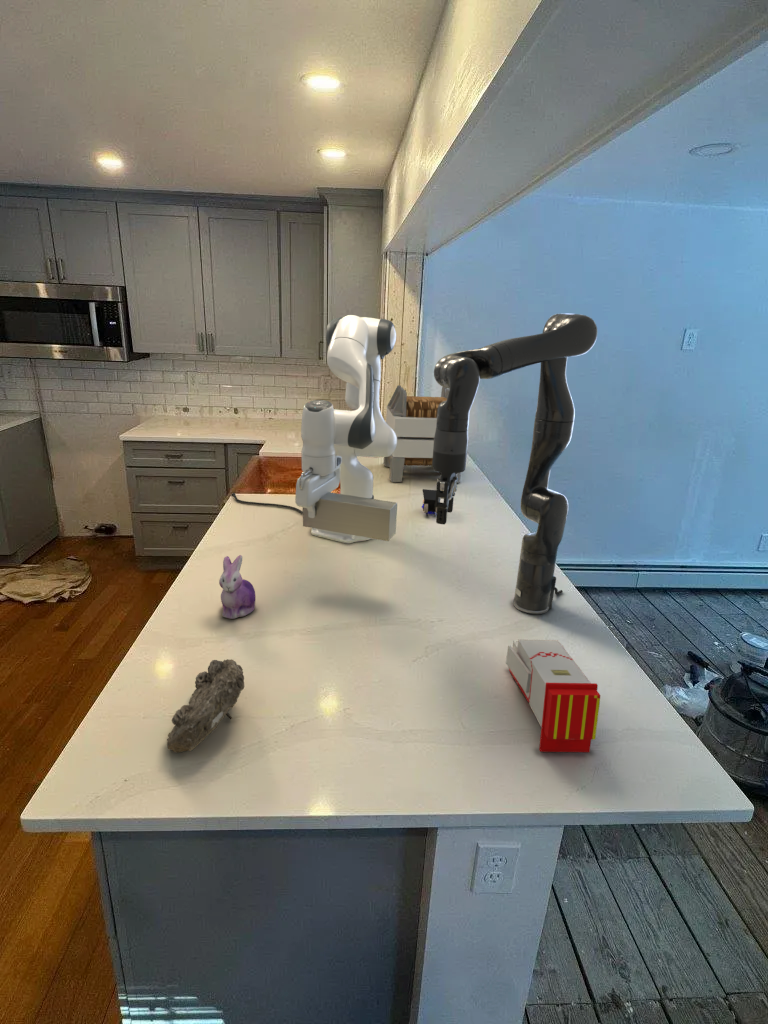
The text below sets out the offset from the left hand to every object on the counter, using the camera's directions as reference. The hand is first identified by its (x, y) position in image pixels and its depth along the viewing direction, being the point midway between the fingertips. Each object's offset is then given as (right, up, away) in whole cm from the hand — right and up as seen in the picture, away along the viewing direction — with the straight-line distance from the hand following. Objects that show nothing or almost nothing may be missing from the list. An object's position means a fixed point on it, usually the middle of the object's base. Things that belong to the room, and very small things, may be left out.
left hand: (318, 512), depth 154 cm
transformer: (+35, +19, +121) cm, 127 cm away
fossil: (-15, -39, -46) cm, 62 cm away
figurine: (-19, -25, -9) cm, 33 cm away
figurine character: (+36, 0, +68) cm, 77 cm away
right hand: (+32, -1, -23) cm, 39 cm away
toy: (+50, -39, -38) cm, 74 cm away
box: (+8, -5, -2) cm, 10 cm away
